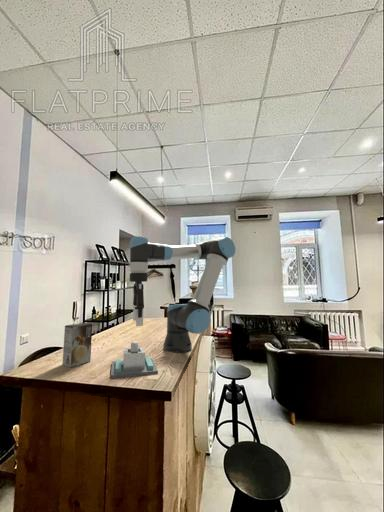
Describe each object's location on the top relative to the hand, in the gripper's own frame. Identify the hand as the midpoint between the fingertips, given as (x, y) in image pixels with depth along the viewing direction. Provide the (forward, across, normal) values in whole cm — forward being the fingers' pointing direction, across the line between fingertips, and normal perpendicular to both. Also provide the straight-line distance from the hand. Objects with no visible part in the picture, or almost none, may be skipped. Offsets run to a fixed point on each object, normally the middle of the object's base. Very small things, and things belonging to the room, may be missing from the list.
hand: (137, 323), depth 97 cm
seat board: (+17, +2, -1) cm, 18 cm away
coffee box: (+17, -12, -24) cm, 32 cm away
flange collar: (+16, +2, -2) cm, 17 cm away
